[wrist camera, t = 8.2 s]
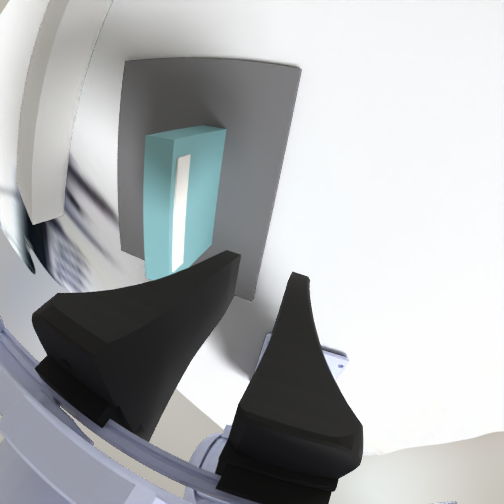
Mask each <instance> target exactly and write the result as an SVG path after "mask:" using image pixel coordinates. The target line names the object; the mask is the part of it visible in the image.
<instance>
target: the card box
mask: <svg viewBox="0 0 504 504" xmlns="http://www.w3.org/2000/svg"><path fill="white" fill-rule="evenodd" d="M226 130H227V129H224V128H218V127H212V126H205V125H201V126H194V127H188V128H182V129H176V130H171V131H166V132H160V133H156V134H151V135H146V138H145V156H144V185H143V223H144V254H145V271H146V278H147V279H150V280H152V281H153V280H156V279H160V278H163V277H165V276H168V275H171V274H173V273H176V272H178V271H181V270H183V269H186V268H188V267H190V266H191V265H192V264H193V263H194V262H195V261H196V260H197V259H198V258H199V257H200V256H201V255H202V254H203V253H204V252H205V251H206V250H207V249H208V248H209V247H210V246H211V245H212V238H213V229H214V220H215V211H216V203H217V195H218V187H219V179H220V172H221V165H222V157H223V150H224V143H225V137H226Z"/></svg>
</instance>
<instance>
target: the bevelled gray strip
mask: <svg viewBox="0 0 504 504" xmlns="http://www.w3.org/2000/svg"><path fill="white" fill-rule="evenodd" d="M112 2H113V0H50V2H49V4H48V7H47V10H46V12H45V15H44V18H43V20H42V23H41V26H40V29H39V32H38V36H37V39H36V42H35V46H34V49H33V53H32V57H31V61H30V65H29V69H28V74H27V78H26V83H25V89H24V95H23V101H22V108H21V115H20V124H19V134H18V149H17V185H18V188H19V191H20V194H21V197H22V199H23V202H24V204H25V207H26V210H27V212H28V215H29V217H30V219H31V222H32V224H33V225H34V224H37V223H41V222H44V221H47V220H50V219H54V218H57V217H61V216H63V215H64V204H65V189H66V178H67V169H68V160H69V151H70V145H71V139H72V133H73V127H74V122H75V117H76V112H77V107H78V103H79V98H80V94H81V91H82V87H83V83H84V79H85V76H86V72H87V69H88V66H89V62H90V59H91V56H92V53H93V50H94V47H95V44H96V41H97V38H98V36H99V33H100V30H101V28H102V25H103V23H104V20H105V18H106V16H107V13H108V11H109V9H110V6H111V4H112Z"/></svg>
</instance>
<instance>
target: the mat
mask: <svg viewBox="0 0 504 504" xmlns="http://www.w3.org/2000/svg"><path fill="white" fill-rule="evenodd" d="M301 71H302V69H300V68H294V67H288V66H282V65H276V64H269V63H261V62H252V61H242V60H230V59H213V58H160V59H143V60H131V61H125V66H124V74H123V82H122V91H121V102H120V114H119V131H118V211H119V228H120V241H121V250H122V251H124V252H126V253H129V254H131V255H133V256H136V257H138V258H141V259H143V260H145V254H144V223H143V185H144V156H145V138H146V135H151V134H156V133H160V132H166V131H171V130H176V129H182V128H188V127H194V126H201V125H205V126H212V127H218V128H224V129H227V130H226V137H225V143H224V150H223V157H222V165H221V172H220V179H219V187H218V195H217V203H216V211H215V220H214V229H213V238H212V245H211V246H210V247H209V248H208V249H207V250H206V251H205V252H204V253H203V254H202V255H201V256H200V257H199V258H198V259H197V260H196V261H195V262H194V263H193V264H192V265H191V266H193V265H195V264H197V263H200V262H202V261H204V260H206V259H208V258H210V257H212V256H215V255H217V254H219V253H221V252H223V251H226V250H229V251H232V252H235V253H238V254H241V259H240V265H239V271H238V277H237V283H236V289H235V294H234V295H236V296H238V297H241V298H244V299H247V300H250V301H252V300H253V297H254V293H255V289H256V284H257V280H258V275H259V271H260V266H261V262H262V257H263V252H264V248H265V243H266V239H267V234H268V230H269V225H270V220H271V216H272V211H273V206H274V202H275V197H276V192H277V188H278V183H279V178H280V174H281V169H282V164H283V159H284V154H285V150H286V145H287V140H288V135H289V130H290V125H291V121H292V116H293V111H294V106H295V101H296V96H297V91H298V86H299V81H300V76H301ZM191 266H190V267H191Z"/></svg>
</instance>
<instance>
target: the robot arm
mask: <svg viewBox="0 0 504 504" xmlns="http://www.w3.org/2000/svg"><path fill="white" fill-rule="evenodd" d="M240 259H241V254H238V253H235V252H232V251H229V250H226V251H223V252H221V253H219V254H217V255H215V256H212V257H210V258H208V259H206V260H204V261H202V262H200V263H197V264H195V265H193V266H191V267H188V268H186V269H183V270H181V271H178V272H176V273H173V274H171V275H168V276H165V277H163V278H160V279H156V280H153V281H150V282H146V283H142V284H138V285H134V286H129V287H124V288H119V289H113V290H106V291H97V292H86V293H57V294H56V295H55V296H54V297H52V298H51V299H50V300H49V301H47V302H46V303H45V304H44V305H42V306H41V307H40V308H39V309H38V310H37V311H35V312H34V313H33V315H32V323H33V327H34V329H35V331H36V334H37V336H38V338H39V340H40V342H41V344H42V346H43V348H44V349H45V351H46V353H47V356H46V357H45V358H44V359H43V360H42V361H41V362H40V363H39V362H38V361H37V360H36V359H35V358H34V357H33V356H32V355H31V354H30V353H29V352H28V351H27V350H26V349H25V348H24V347H23V346H22V345H21V344H20V343H19V342H18V341H17V340H16V338H15V337H14V336H13V335H12V334H11V333H10V332H9V331H8V330H7V329H6V327H5V324H4V322H3V320H2V318H1V316H0V415H1V416H2V418H1V419H0V432H1V433H2V435H3V436H4V437H5V438H4V440H3V441H2V442H1V443H0V504H328V503H329V499H330V496H331V492H333V491H335V489H336V487H337V483H338V479H339V478H340V477H342V476H344V475H346V474H348V473H350V472H351V471H353V470H354V469H356V468H357V467H358V466H359V465H360V463H361V459H362V454H363V426H362V424H361V423H360V421H359V420H358V418H357V417H356V415H355V414H354V413H353V411H352V410H351V408H350V407H349V405H348V404H347V402H346V400H345V398H344V397H343V395H342V393H341V391H340V389H339V387H338V385H337V383H336V381H337V379H338V378H339V376H340V375H341V373H342V372H343V370H344V369H345V368H346V366H347V365H348V361H349V360H348V358H346V357H344V356H340V355H337V354H334V353H330V352H327V351H324V350H322V348H321V345H320V342H319V338H318V335H317V331H316V327H315V323H314V319H313V313H312V308H311V301H310V290H309V284H310V279H309V278H308V277H307V276H304V275H301V274H298V273H295V272H292V274H291V276H290V278H289V280H288V283H287V286H286V290H285V293H284V296H283V299H282V303H281V306H280V309H279V312H278V316H277V319H276V322H275V325H274V328H273V331H272V333H269V334H267V336H266V338H265V341H264V344H263V348H262V351H261V354H260V357H259V360H258V363H257V367H256V370H255V373H254V375H253V377H252V379H251V381H250V383H249V385H248V387H247V389H246V391H245V393H244V395H243V397H242V399H241V400H240V402H239V404H238V408H237V411H236V414H235V417H234V421H233V424H232V426H230V425H226V427H225V429H224V431H223V433H222V434H219V433H214V434H212V435H210V436H209V437H207V438H205V439H204V440H203V441H202V442H201V443H200V444H199V445H198V446H197V448H196V449H195V451H194V453H193V455H192V456H191V459H190V461H189V462H186V461H184V460H182V459H180V458H178V457H176V456H173V455H172V454H170V453H168V452H166V451H164V450H162V449H160V448H158V447H156V446H154V445H153V444H151V443H149V441H150V438H151V436H152V434H153V432H154V430H155V428H156V426H157V424H158V422H159V419H160V417H161V415H162V413H163V412H164V410H165V408H166V406H167V404H168V402H169V400H170V398H171V396H172V394H173V392H174V390H175V389H176V387H177V385H178V383H179V381H180V379H181V378H182V376H183V374H184V372H185V371H186V369H187V367H188V365H189V364H190V362H191V360H192V359H193V357H194V356H195V354H196V353H197V351H198V350H199V349H200V347H201V346H202V344H203V343H204V342H205V340H206V339H207V338H208V336H209V335H210V334H211V332H212V331H213V329H214V328H215V327H216V325H217V324H218V322H219V321H220V320H221V318H222V317H223V315H224V314H225V312H226V310H227V308H228V306H229V304H230V303H231V301H232V299H233V297H234V294H235V289H236V283H237V277H238V271H239V265H240ZM340 364H341V365H340ZM60 406H61V407H62V408H63V409H65V410H66V411H67V412H68V413H69V414H71V415H72V416H73V417H74V418H76V419H77V420H78V421H79V422H81V423H82V424H83V425H84V426H86V427H87V428H88V429H90V430H91V431H92V432H94V433H95V434H97V435H98V436H99V437H101V438H102V439H104V440H105V441H107V442H108V443H110V444H111V445H113V446H114V447H116V448H117V449H119V450H120V451H122V452H123V453H125V454H127V455H128V456H130V457H131V458H133V459H135V460H137V461H138V462H140V463H142V464H143V465H145V466H147V467H149V468H151V469H153V470H154V471H156V472H158V473H160V474H162V475H164V476H166V477H168V478H170V479H172V480H174V481H176V482H179V483H180V484H183V485H185V486H186V487H185V493H184V498H183V499H181V498H179V497H177V496H176V495H174V494H172V493H170V492H168V491H166V490H164V489H162V488H160V487H158V486H156V485H154V484H153V483H151V482H149V481H147V480H146V479H144V478H142V477H140V476H139V475H137V474H135V473H134V472H132V471H130V470H129V469H127V468H126V467H124V466H122V465H121V464H119V463H118V462H116V461H115V460H113V459H112V458H110V457H108V456H107V455H106V454H104V453H103V452H101V451H100V450H99V449H97V448H96V447H94V446H93V445H94V443H93V442H92V440H90V439H89V438H88V437H87V436H86V435H85V434H84V433H83V432H82V431H81V429H80V428H79V427H78V426H77V425H76V423H75V422H74V420H73V419H71V418H70V416H68V415H67V414H66V413H65V412H64V411H63V410H62V409H61V408H60ZM432 504H457V502H456V501H453V502H444V503H432Z"/></svg>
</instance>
